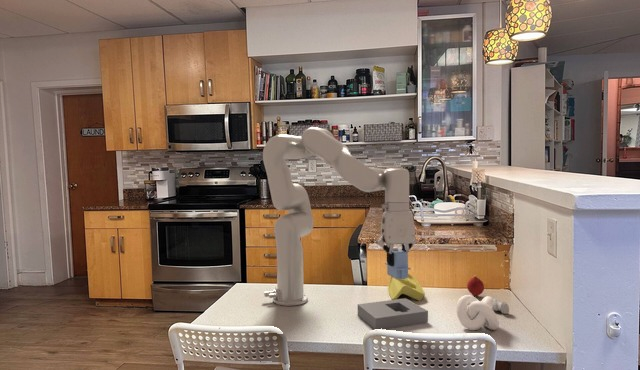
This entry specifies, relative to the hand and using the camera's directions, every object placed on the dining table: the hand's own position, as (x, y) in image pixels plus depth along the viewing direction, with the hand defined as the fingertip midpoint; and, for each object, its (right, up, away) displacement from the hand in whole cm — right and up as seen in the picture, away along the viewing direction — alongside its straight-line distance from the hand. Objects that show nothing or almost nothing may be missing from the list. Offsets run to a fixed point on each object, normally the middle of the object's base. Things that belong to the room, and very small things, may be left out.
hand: (397, 264), depth 127 cm
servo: (0, -4, 0) cm, 4 cm away
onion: (+33, -17, +22) cm, 43 cm away
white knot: (+24, -18, -6) cm, 30 cm away
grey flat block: (-2, -17, 0) cm, 17 cm away
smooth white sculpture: (+34, -17, +6) cm, 39 cm away
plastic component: (+8, -17, +26) cm, 32 cm away
